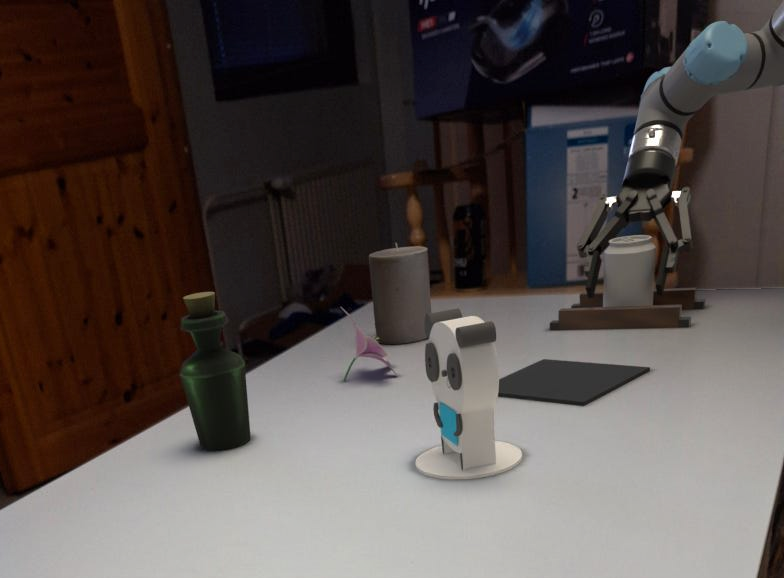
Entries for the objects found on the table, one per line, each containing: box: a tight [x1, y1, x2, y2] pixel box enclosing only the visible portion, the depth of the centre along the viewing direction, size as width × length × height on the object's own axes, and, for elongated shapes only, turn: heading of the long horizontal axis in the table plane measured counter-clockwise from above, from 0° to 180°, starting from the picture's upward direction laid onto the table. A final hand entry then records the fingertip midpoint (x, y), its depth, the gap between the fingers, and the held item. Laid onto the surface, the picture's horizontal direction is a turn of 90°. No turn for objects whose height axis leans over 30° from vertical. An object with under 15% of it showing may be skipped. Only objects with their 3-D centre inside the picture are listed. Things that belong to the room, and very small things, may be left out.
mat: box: [498, 358, 651, 407], centre depth 121 cm, size 16×16×1 cm
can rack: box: [549, 287, 707, 331], centre depth 147 cm, size 21×14×3 cm, turn 60°
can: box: [602, 234, 657, 307], centre depth 144 cm, size 8×8×12 cm
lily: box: [340, 306, 399, 382], centre depth 136 cm, size 12×12×10 cm
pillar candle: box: [368, 242, 432, 345], centre depth 153 cm, size 10×10×15 cm
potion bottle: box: [179, 291, 251, 451], centre depth 114 cm, size 8×8×18 cm
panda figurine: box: [415, 307, 523, 481], centre depth 97 cm, size 12×11×15 cm
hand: (623, 291), depth 143 cm, fingers open, 10 cm apart
